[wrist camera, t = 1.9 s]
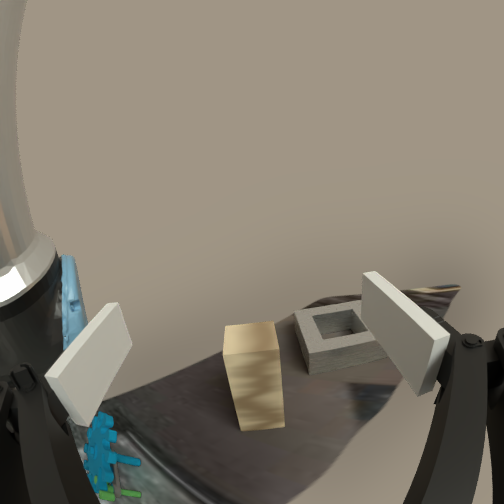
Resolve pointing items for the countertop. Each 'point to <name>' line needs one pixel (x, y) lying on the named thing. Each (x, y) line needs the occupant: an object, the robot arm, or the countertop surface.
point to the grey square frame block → (335, 349)
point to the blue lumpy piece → (105, 459)
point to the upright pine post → (254, 375)
